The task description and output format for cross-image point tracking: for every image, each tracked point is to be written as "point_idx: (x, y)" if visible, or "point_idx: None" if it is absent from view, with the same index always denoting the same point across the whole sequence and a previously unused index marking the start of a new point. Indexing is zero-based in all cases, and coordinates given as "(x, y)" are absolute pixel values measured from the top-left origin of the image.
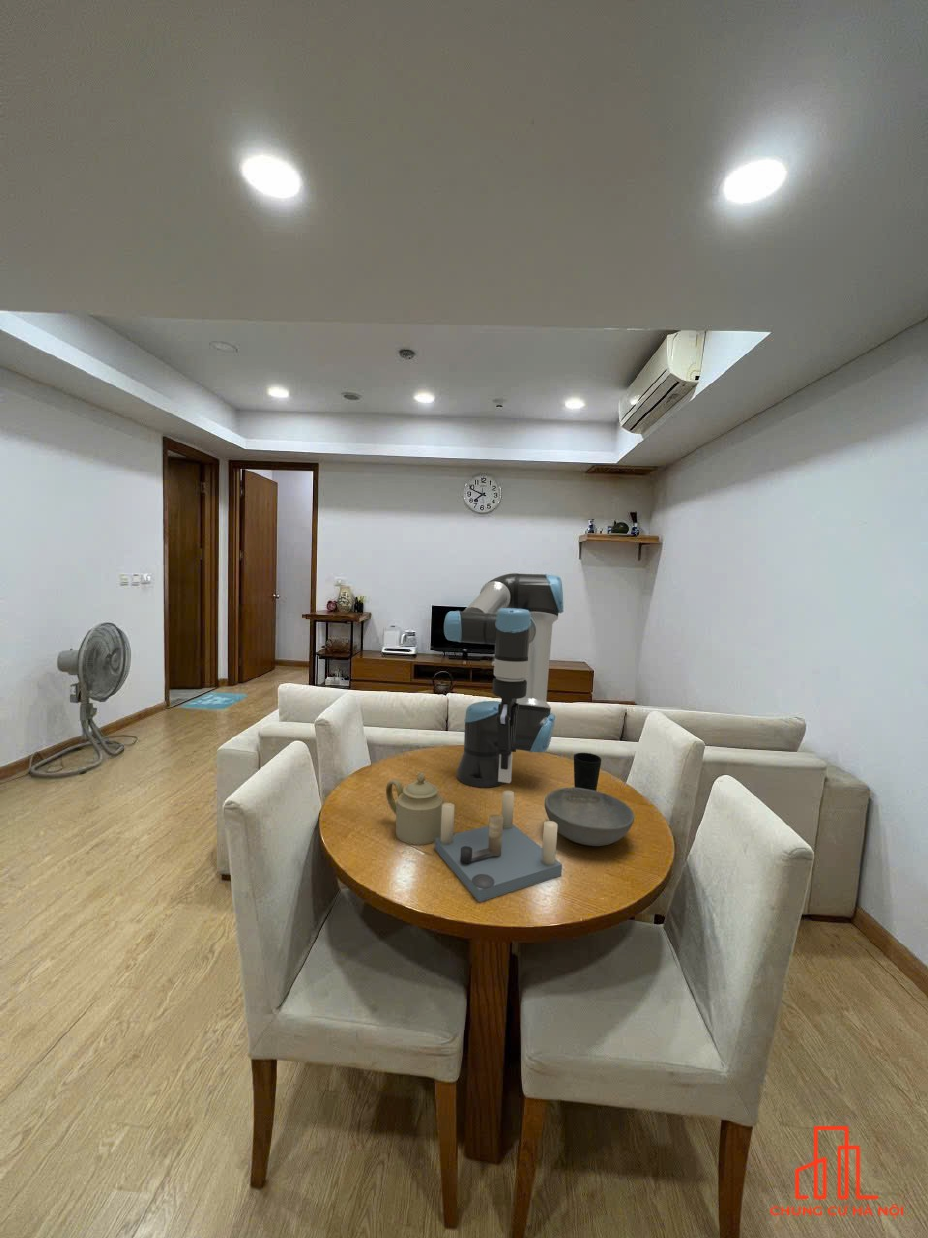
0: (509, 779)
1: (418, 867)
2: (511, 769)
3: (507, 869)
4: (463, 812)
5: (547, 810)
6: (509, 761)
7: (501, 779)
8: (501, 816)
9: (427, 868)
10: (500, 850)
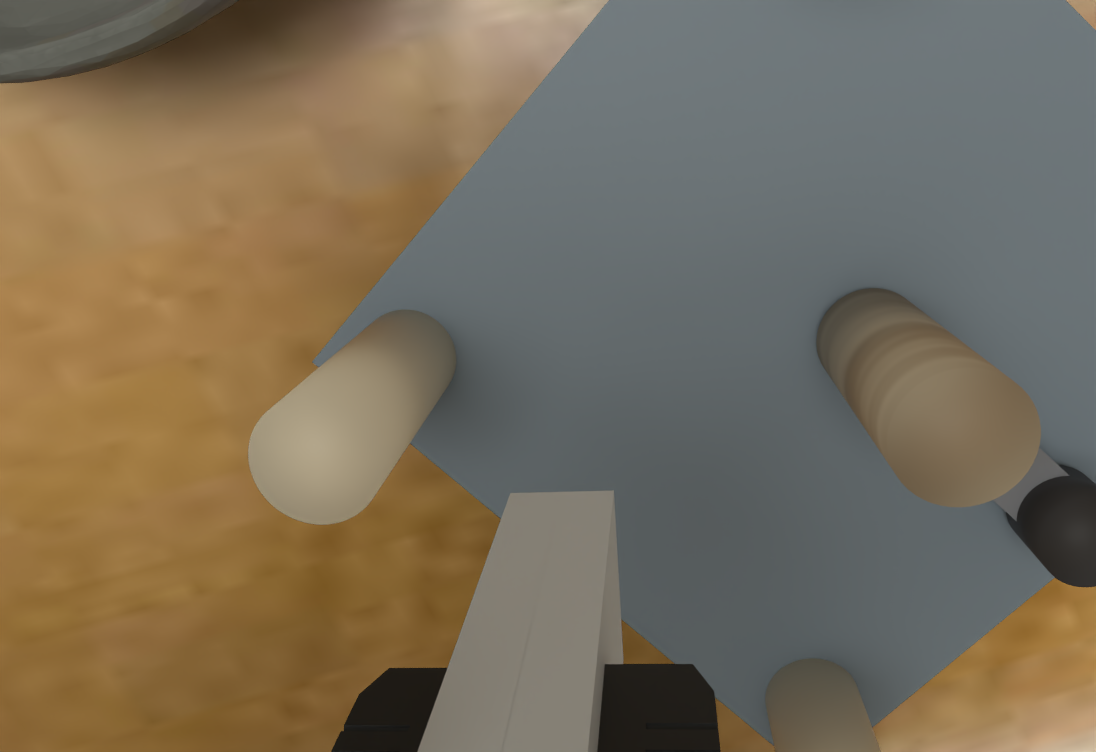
0: (609, 525)
1: (1033, 745)
2: (503, 587)
3: (1045, 187)
4: (253, 699)
5: (219, 4)
6: (595, 735)
7: (619, 634)
8: (916, 396)
9: (1026, 695)
10: (898, 298)
